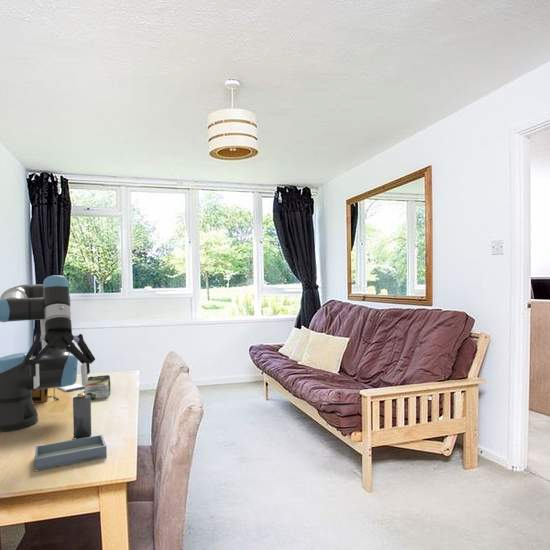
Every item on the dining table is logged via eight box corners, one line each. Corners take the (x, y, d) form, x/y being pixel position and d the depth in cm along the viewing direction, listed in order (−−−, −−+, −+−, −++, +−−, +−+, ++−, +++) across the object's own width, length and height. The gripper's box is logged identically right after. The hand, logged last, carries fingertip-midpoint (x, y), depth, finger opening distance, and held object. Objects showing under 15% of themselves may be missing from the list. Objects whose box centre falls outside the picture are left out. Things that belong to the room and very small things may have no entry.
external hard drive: (66, 393, 189) (56, 388, 198) (85, 389, 195) (74, 385, 204) (66, 389, 189) (56, 385, 198) (85, 386, 195) (74, 381, 204)
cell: (73, 435, 136) (72, 393, 136) (90, 432, 138) (89, 391, 138) (74, 440, 131) (73, 397, 131) (92, 437, 134) (91, 394, 134)
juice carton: (110, 398, 178) (109, 383, 178) (83, 401, 175) (83, 386, 175) (110, 387, 197) (110, 374, 197) (87, 390, 194) (86, 376, 194)
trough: (35, 457, 119) (35, 446, 119) (102, 444, 127) (102, 434, 127) (35, 471, 110) (34, 459, 110) (106, 457, 118) (106, 445, 118)
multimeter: (67, 396, 182) (66, 348, 183) (52, 403, 173) (51, 352, 173) (34, 396, 184) (33, 348, 184) (17, 402, 174) (16, 352, 174)
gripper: (17, 313, 128) (18, 383, 119) (101, 317, 145) (108, 379, 136) (10, 324, 132) (10, 392, 123) (92, 327, 149) (98, 387, 140)
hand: (61, 386), depth 130 cm, fingers open, 13 cm apart
